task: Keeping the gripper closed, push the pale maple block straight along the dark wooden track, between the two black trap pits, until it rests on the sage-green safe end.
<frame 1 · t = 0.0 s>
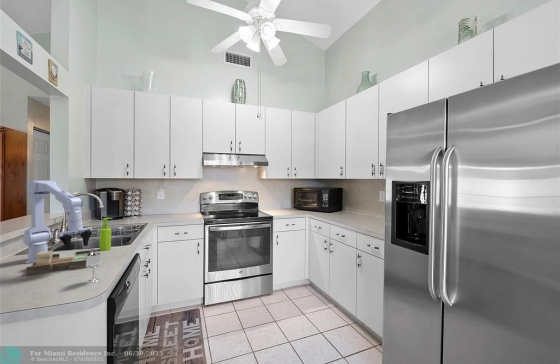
hand: (77, 247, 123), 11 cm above the countertop, tool pointing down, fingers open, 7 cm apart
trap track: (59, 265, 126), on the countertop
maple block: (44, 262, 123), point 2 cm above the countertop, touching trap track
wineglass: (93, 281, 110), on the countertop
soap dispenser: (106, 249, 155), on the countertop
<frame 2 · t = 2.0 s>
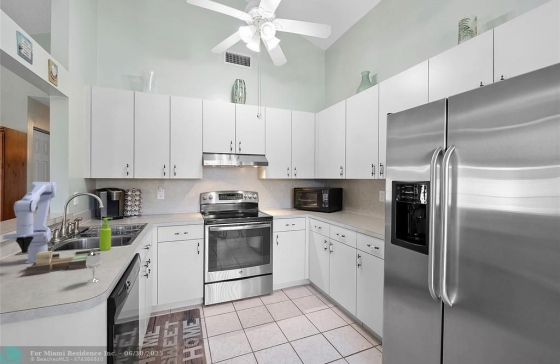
hand: (24, 252, 119), 9 cm above the countertop, tool pointing down, fingers closed
nothing on the countertop moved.
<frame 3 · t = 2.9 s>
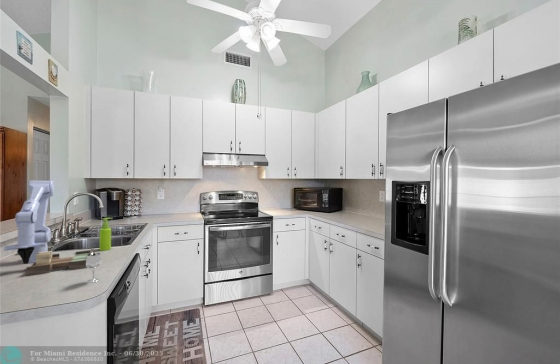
hand: (26, 263, 120), 3 cm above the countertop, tool pointing down, fingers closed
nothing on the countertop moved.
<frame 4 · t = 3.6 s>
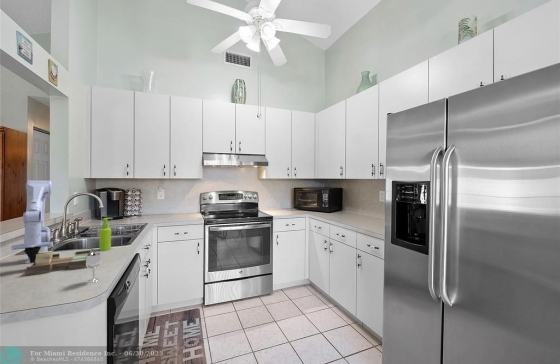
hand: (32, 262, 121), 3 cm above the countertop, tool pointing down, fingers closed
maple block: (44, 262, 123), point 3 cm above the countertop, touching gripper, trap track
everything else where it was.
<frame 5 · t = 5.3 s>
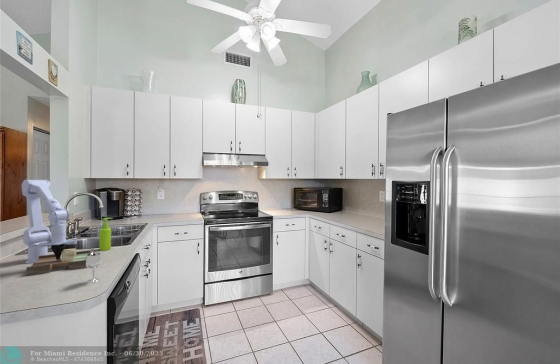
hand: (58, 259, 126), 3 cm above the countertop, tool pointing down, fingers closed
maple block: (68, 259, 128), point 3 cm above the countertop, touching gripper
everything else where it was.
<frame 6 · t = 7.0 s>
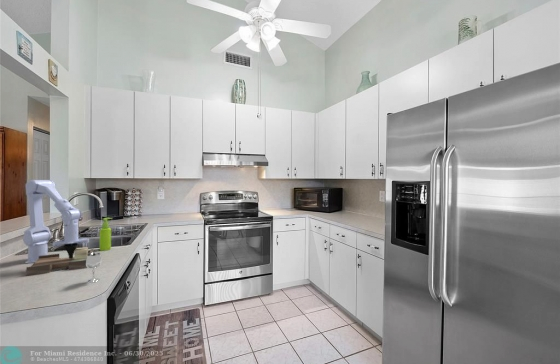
hand: (71, 257, 129), 3 cm above the countertop, tool pointing down, fingers closed
maple block: (81, 258, 131), point 2 cm above the countertop, touching gripper, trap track
everything else where it was.
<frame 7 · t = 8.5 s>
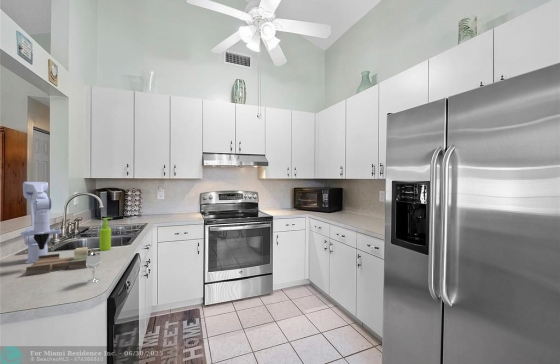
hand: (41, 249, 123), 9 cm above the countertop, tool pointing down, fingers closed
maple block: (81, 258, 131), point 2 cm above the countertop, touching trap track
everything else where it was.
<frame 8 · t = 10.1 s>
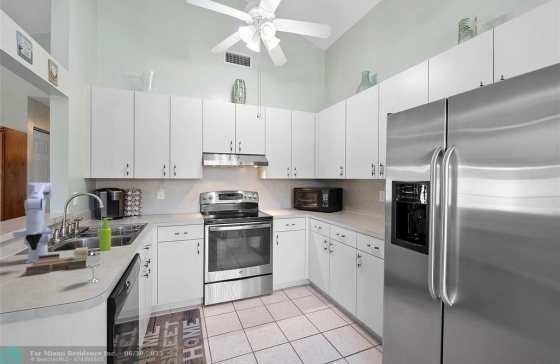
hand: (34, 249, 122), 9 cm above the countertop, tool pointing down, fingers closed
nothing on the countertop moved.
at the end: maple block 0.2 cm from the target spot on the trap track, point 2.5 cm above the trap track's base; maple block tilted 0° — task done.
